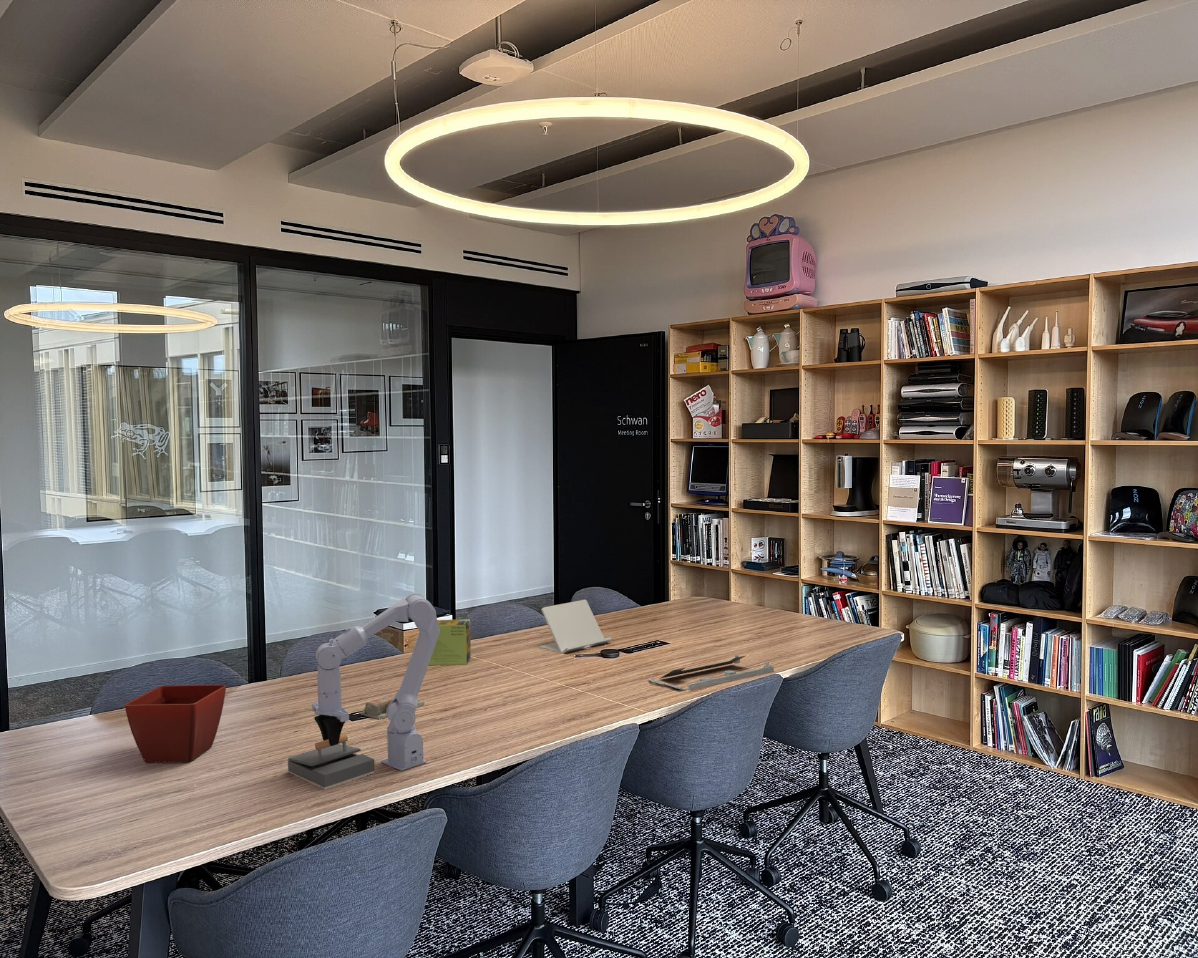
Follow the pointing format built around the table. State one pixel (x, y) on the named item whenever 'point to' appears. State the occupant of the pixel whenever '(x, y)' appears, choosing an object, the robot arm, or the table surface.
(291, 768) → the charcoal shallow open tray
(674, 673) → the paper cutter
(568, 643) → the tablet stand
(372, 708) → the packaged product
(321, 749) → the grill press
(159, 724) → the plant pot
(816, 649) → the table surface
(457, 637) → the protein box
